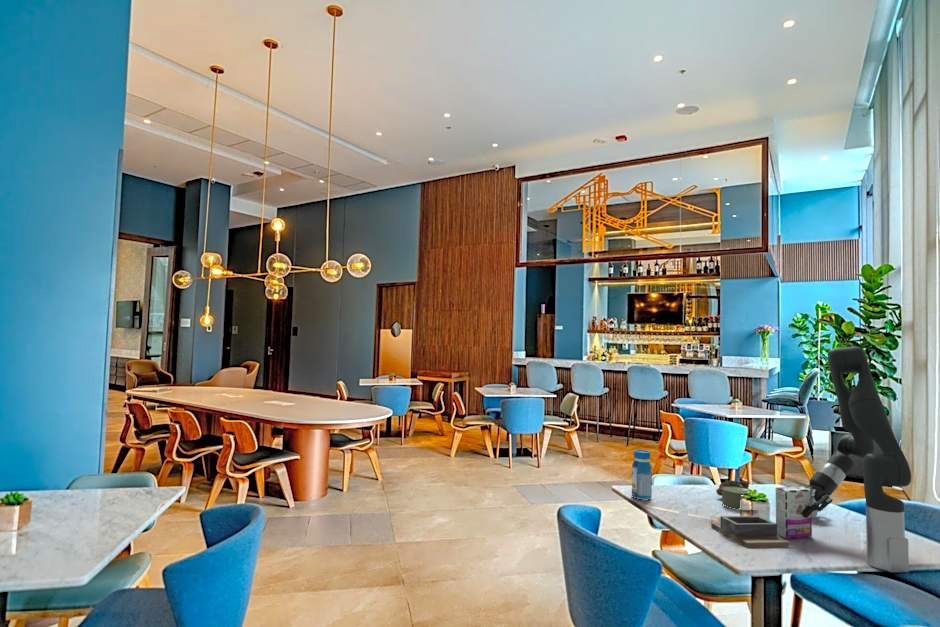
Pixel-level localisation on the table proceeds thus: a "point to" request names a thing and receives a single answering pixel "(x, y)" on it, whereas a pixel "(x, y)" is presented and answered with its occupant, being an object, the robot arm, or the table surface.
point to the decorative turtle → (732, 483)
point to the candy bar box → (793, 512)
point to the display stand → (750, 531)
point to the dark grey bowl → (733, 496)
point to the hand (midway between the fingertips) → (797, 513)
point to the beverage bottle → (641, 475)
